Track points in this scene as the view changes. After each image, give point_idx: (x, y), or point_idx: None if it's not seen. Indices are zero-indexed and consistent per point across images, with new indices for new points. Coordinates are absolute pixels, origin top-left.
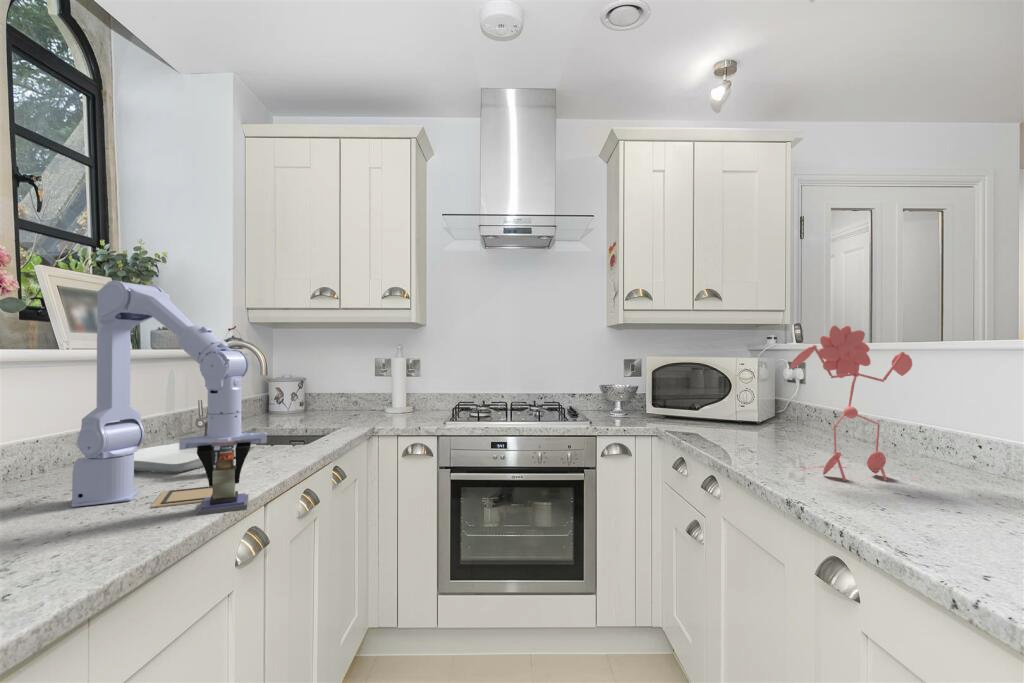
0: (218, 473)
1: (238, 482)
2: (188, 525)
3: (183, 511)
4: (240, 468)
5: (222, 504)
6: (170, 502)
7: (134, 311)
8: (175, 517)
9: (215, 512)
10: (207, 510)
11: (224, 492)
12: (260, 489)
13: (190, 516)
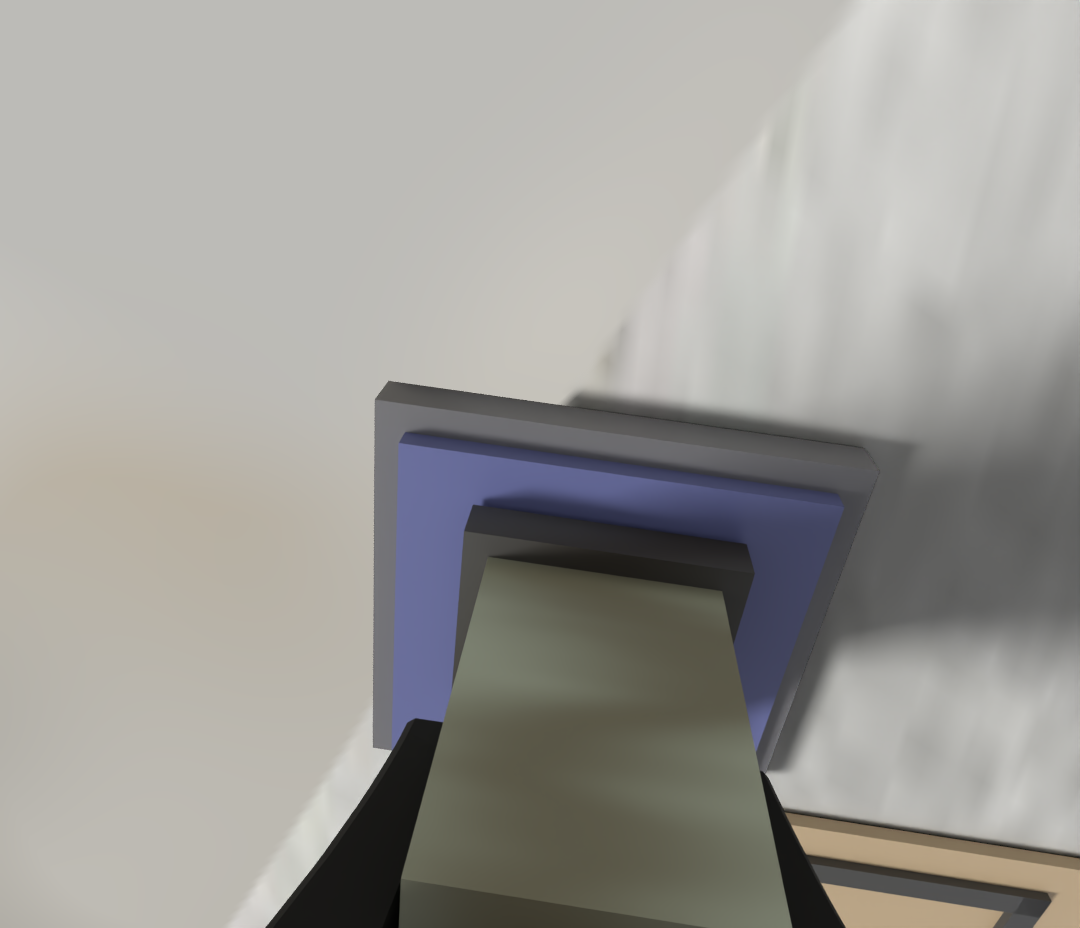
0: (684, 871)
1: (408, 724)
2: (1058, 62)
3: (937, 647)
4: (304, 897)
5: (622, 485)
6: (979, 887)
7: None
8: (1060, 496)
9: (693, 425)
10: (775, 453)
11: (593, 614)
12: (302, 880)
13: (931, 446)
